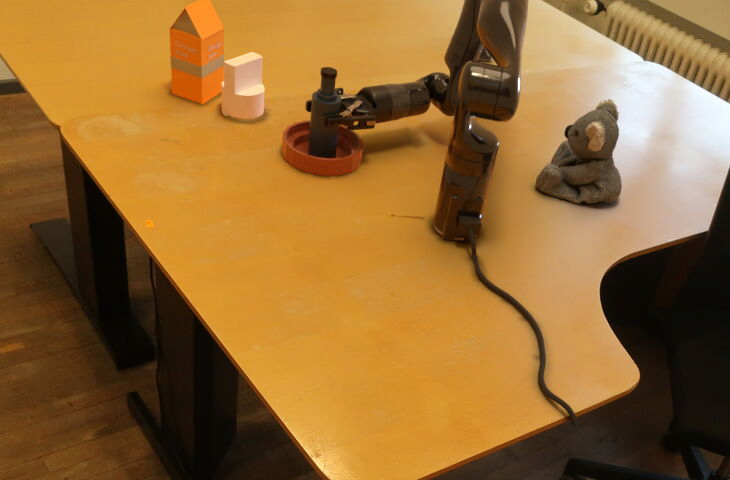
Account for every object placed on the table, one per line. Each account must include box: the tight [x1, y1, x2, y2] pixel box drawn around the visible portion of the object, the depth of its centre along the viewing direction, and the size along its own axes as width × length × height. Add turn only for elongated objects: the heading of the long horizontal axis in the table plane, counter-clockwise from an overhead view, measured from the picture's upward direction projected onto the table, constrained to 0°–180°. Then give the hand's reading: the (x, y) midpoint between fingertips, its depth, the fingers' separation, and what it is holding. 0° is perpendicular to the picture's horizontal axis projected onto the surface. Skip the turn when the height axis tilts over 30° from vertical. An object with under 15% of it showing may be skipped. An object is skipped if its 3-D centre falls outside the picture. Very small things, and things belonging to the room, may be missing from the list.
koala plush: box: [535, 98, 623, 204], centre depth 180 cm, size 17×18×20 cm
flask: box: [308, 66, 341, 158], centre depth 168 cm, size 6×6×18 cm
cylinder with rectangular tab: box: [221, 51, 266, 120], centre depth 180 cm, size 9×9×12 cm
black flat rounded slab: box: [478, 47, 492, 63], centre depth 235 cm, size 8×1×15 cm
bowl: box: [281, 120, 364, 177], centre depth 173 cm, size 16×16×4 cm
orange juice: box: [169, 0, 225, 105], centre depth 180 cm, size 8×9×20 cm
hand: (315, 114), depth 167 cm, fingers closed on flask, 6 cm apart
